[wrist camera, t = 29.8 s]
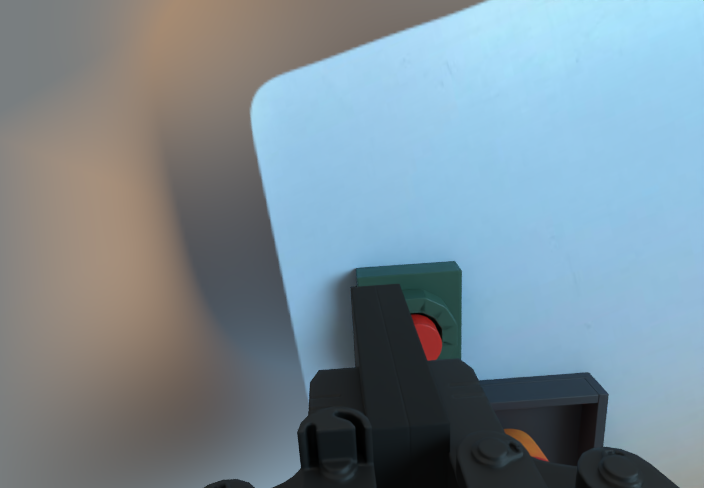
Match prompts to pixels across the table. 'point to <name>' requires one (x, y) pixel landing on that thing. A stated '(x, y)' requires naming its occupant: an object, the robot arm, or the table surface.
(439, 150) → the table surface
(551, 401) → the tray
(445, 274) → the panel
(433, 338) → the button
